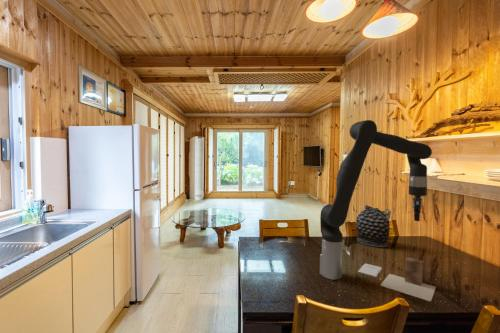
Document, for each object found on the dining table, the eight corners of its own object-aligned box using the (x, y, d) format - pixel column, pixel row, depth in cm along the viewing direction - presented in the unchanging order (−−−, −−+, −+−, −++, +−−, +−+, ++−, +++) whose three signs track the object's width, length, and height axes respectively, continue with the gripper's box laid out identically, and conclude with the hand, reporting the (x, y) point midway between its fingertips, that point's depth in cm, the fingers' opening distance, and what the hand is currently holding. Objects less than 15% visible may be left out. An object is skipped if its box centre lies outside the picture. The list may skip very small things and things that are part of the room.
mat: (380, 286, 110) (380, 285, 110) (389, 274, 121) (389, 273, 121) (430, 303, 98) (430, 301, 98) (435, 288, 109) (436, 286, 109)
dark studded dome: (391, 243, 164) (392, 205, 164) (388, 250, 152) (390, 209, 151) (357, 238, 176) (358, 202, 175) (352, 244, 164) (353, 205, 163)
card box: (404, 281, 113) (405, 259, 113) (406, 278, 116) (406, 257, 115) (420, 286, 109) (421, 263, 109) (421, 283, 112) (422, 260, 111)
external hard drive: (357, 274, 122) (364, 266, 132) (376, 279, 117) (382, 270, 126) (357, 271, 122) (364, 262, 132) (376, 276, 117) (382, 267, 126)
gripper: (408, 183, 132) (408, 215, 133) (408, 186, 120) (407, 221, 121) (426, 184, 128) (425, 217, 129) (427, 187, 116) (426, 224, 117)
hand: (416, 219), depth 125 cm, fingers open, 5 cm apart
